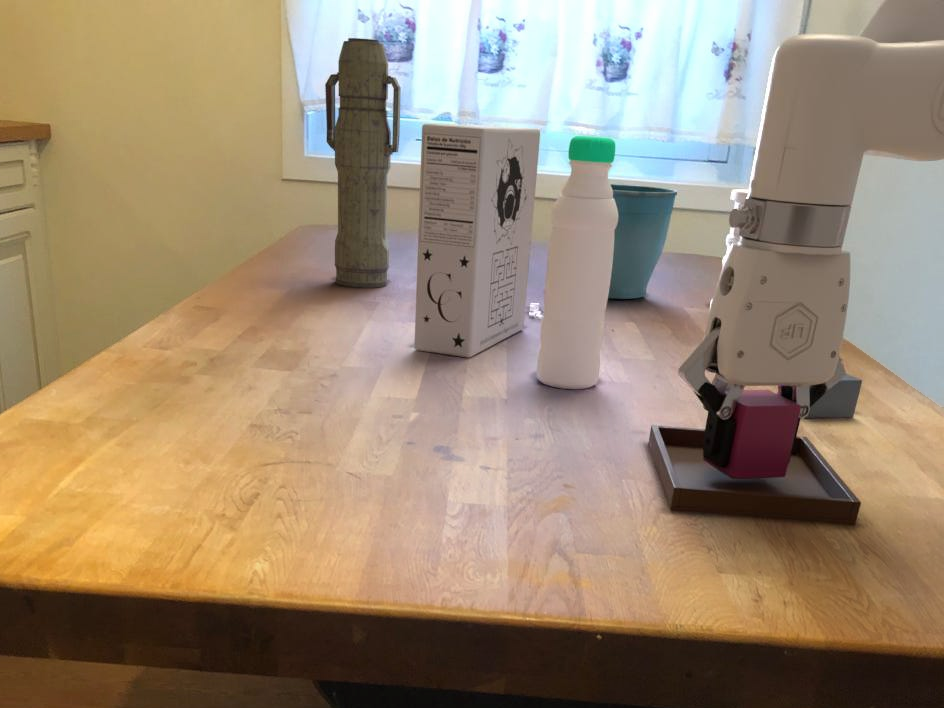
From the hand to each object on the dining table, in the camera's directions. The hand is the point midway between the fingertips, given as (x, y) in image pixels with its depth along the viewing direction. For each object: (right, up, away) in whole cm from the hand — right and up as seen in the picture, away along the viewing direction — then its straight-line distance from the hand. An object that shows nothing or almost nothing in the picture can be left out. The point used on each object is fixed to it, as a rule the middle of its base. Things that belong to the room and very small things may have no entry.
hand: (745, 459), depth 82 cm
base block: (+15, +10, +25) cm, 31 cm away
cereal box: (-23, +24, +48) cm, 58 cm away
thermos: (-41, +45, +83) cm, 102 cm away
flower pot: (+1, +44, +88) cm, 98 cm away
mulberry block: (0, -1, 0) cm, 1 cm away
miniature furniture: (-16, +34, +66) cm, 76 cm away
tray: (0, -2, +1) cm, 2 cm away
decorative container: (+23, +39, +80) cm, 92 cm away
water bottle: (-12, +14, +30) cm, 35 cm away
